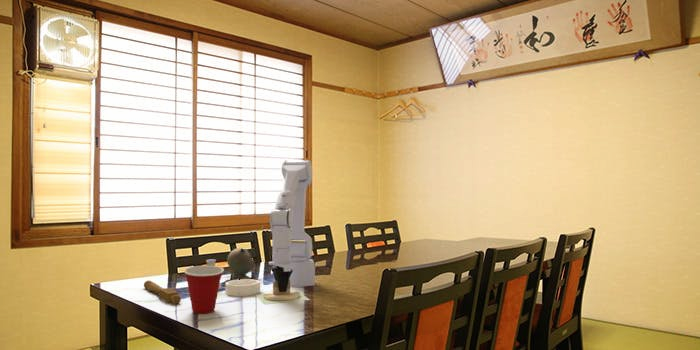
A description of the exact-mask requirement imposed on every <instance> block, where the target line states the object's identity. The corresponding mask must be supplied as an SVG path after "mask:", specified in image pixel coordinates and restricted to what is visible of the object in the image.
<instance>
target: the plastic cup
mask: <svg viewBox="0 0 700 350" xmlns="http://www.w3.org/2000/svg"><path fill="white" fill-rule="evenodd" d="M224 270H225V269H224V268H223V267H220V266H216V265H215V266H207V265H195V266H190V267H186V268H185V269H184V270H183V272H184V274H185V278H186V281H187V287H188V293H189V299H190V302H191V303H190V304H191V310H192V313H193V314H198V315H203V314H211V313H213V312H215V309H216V303H217V299H218V294H219V293H218V292H219V290H220V289H219V283H221V278H222V275H223V273H224V272H225V271H224Z"/></svg>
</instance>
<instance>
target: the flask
mask: <svg viewBox="0 0 700 350" xmlns="http://www.w3.org/2000/svg"><path fill="white" fill-rule="evenodd" d="M205 262H206V266H216V262H217V259H213V258H211V259H207V260H205ZM222 286H223V285H222V284H221V282H220V283H219V289H218V290H221V289H222V288H223V287H222Z"/></svg>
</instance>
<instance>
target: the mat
mask: <svg viewBox="0 0 700 350" xmlns="http://www.w3.org/2000/svg"><path fill="white" fill-rule="evenodd" d="M297 291H298V292H299V293H300V297H299V298H297V299H294V300H289V301H269V300H266V299H264V293H265V292H263V293H256V294H254V296H256V298H258V299H259V300H260V301H261V303H262V304H263V305H272V304H281V303H282V304H283V303H292V302H301V301H302V302H303V301H304V302H305V301H310V300H311V299H310V298H309V297H307V296H305V295H304V294H303V293H301V292H300V291H299V290H297Z"/></svg>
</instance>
